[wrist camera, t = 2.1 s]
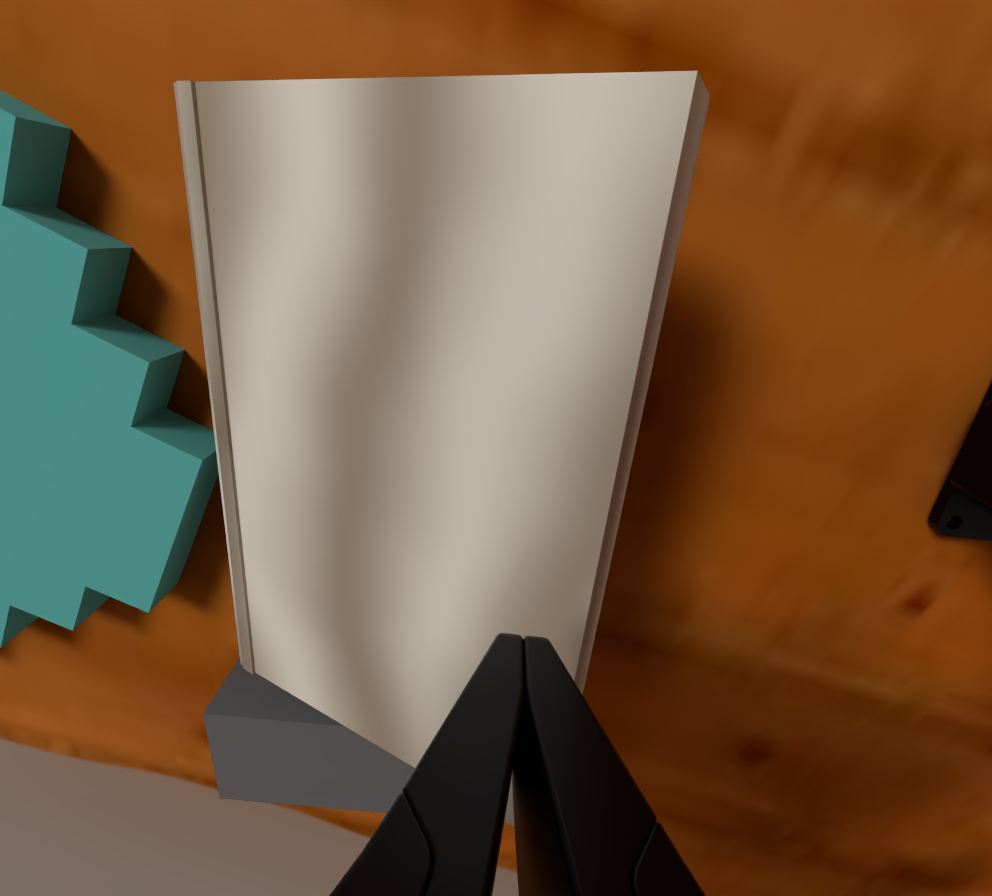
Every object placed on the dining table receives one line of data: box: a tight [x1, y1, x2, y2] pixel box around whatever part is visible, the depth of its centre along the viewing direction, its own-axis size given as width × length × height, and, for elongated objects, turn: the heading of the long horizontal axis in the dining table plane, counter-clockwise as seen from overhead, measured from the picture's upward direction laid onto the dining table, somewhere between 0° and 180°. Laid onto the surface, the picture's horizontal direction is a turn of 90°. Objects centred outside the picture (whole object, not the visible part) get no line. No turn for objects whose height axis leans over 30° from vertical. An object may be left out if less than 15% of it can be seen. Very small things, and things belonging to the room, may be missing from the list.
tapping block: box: [203, 658, 415, 813], centre depth 21 cm, size 8×4×3 cm, turn 86°
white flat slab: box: [174, 71, 710, 828], centre depth 14 cm, size 12×18×2 cm, turn 175°
